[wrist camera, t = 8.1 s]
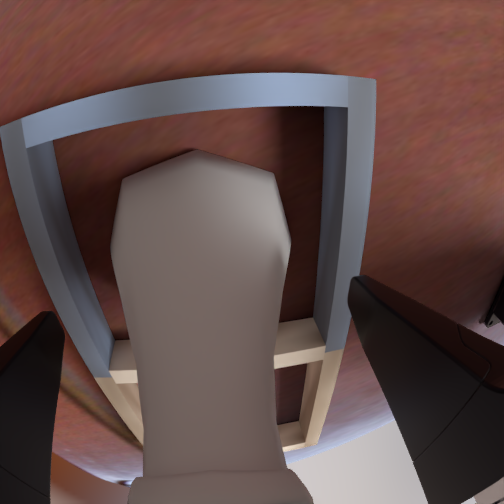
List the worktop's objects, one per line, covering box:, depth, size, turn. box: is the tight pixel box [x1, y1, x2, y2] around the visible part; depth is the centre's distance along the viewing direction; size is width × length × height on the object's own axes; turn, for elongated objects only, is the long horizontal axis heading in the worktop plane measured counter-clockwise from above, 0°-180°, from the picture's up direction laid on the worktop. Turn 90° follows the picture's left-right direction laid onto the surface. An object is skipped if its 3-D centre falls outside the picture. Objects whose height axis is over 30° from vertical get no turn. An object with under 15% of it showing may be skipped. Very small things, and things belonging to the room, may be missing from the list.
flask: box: [110, 149, 314, 504], centre depth 8 cm, size 7×7×10 cm
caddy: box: [0, 73, 376, 452], centre depth 14 cm, size 12×23×2 cm, turn 2°
